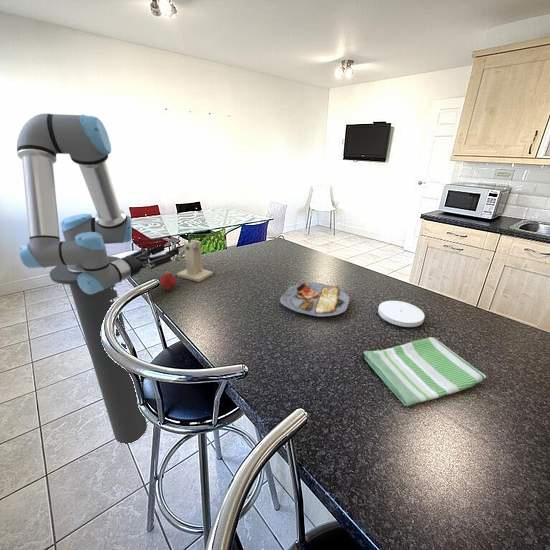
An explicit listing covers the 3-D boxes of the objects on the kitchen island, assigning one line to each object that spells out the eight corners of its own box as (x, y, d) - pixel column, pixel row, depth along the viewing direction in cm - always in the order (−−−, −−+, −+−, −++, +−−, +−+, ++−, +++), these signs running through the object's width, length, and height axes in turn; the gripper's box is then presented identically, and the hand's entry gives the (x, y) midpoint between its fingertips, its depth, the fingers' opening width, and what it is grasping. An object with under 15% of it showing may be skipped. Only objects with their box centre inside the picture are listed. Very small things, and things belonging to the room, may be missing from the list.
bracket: (177, 275, 123) (172, 242, 117) (192, 268, 130) (188, 237, 124) (198, 282, 118) (195, 247, 112) (213, 274, 125) (210, 241, 119)
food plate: (294, 283, 119) (294, 275, 118) (352, 293, 112) (353, 285, 110) (272, 312, 98) (272, 303, 96) (342, 328, 90) (343, 318, 89)
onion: (158, 291, 110) (154, 272, 107) (170, 286, 114) (167, 267, 111) (168, 295, 107) (165, 276, 104) (180, 289, 112) (178, 270, 108)
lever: (174, 263, 125) (170, 256, 125) (181, 260, 128) (176, 253, 128) (193, 249, 117) (188, 242, 117) (199, 247, 120) (195, 239, 119)
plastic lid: (368, 310, 100) (369, 304, 99) (400, 304, 105) (402, 297, 104) (398, 333, 88) (399, 326, 87) (432, 324, 93) (434, 318, 92)
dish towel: (360, 356, 78) (361, 348, 77) (430, 341, 85) (432, 333, 84) (406, 409, 63) (408, 399, 62) (487, 386, 69) (491, 377, 68)
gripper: (108, 271, 112) (154, 252, 130) (146, 283, 104) (190, 261, 122) (103, 253, 108) (152, 236, 127) (143, 264, 101) (188, 244, 119)
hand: (170, 249), depth 125 cm, fingers open, 7 cm apart
